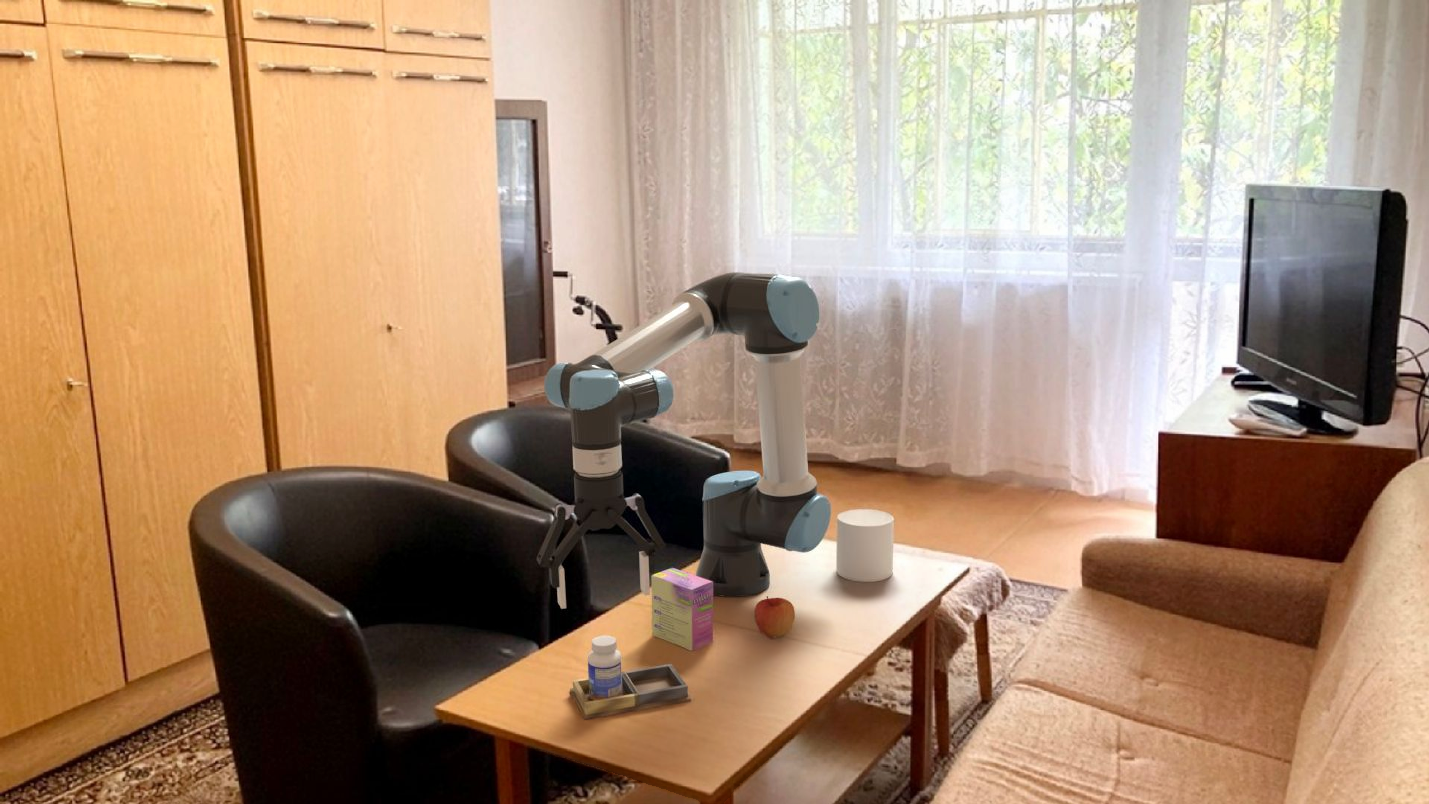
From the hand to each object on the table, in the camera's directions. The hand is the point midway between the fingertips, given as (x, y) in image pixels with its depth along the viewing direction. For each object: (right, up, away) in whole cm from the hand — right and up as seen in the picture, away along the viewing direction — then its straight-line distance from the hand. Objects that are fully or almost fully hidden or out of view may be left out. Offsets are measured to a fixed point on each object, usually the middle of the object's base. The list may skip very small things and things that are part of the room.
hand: (604, 598), depth 181 cm
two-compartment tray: (+4, -17, +5) cm, 18 cm away
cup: (+49, -5, +58) cm, 76 cm away
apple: (+29, -12, +27) cm, 41 cm away
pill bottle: (0, -17, +4) cm, 17 cm away
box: (+12, -12, +26) cm, 31 cm away
